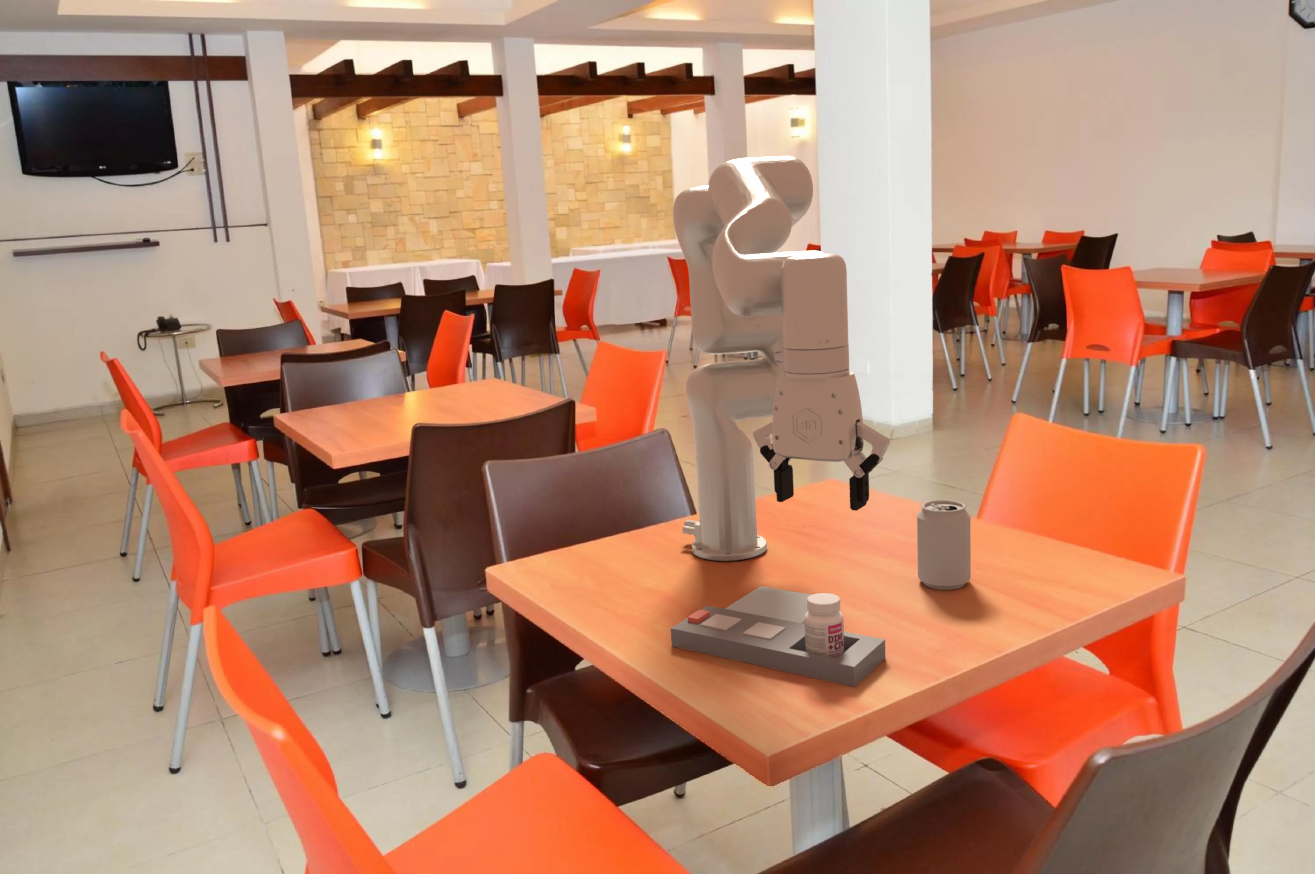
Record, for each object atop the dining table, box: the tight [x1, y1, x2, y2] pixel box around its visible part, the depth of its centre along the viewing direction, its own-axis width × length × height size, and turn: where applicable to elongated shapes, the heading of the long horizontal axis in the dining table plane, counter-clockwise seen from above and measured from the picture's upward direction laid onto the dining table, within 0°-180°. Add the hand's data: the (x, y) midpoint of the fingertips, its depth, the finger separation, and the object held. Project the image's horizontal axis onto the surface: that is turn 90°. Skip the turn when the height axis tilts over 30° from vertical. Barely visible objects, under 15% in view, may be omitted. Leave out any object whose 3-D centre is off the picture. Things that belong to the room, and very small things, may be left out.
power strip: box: [670, 605, 886, 688], centre depth 132 cm, size 26×9×3 cm, turn 55°
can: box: [916, 499, 972, 591], centre depth 151 cm, size 8×8×12 cm
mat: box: [724, 585, 811, 624], centre depth 147 cm, size 12×12×1 cm
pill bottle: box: [805, 592, 845, 658], centre depth 127 cm, size 5×5×8 cm
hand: (821, 503), depth 124 cm, fingers open, 9 cm apart
